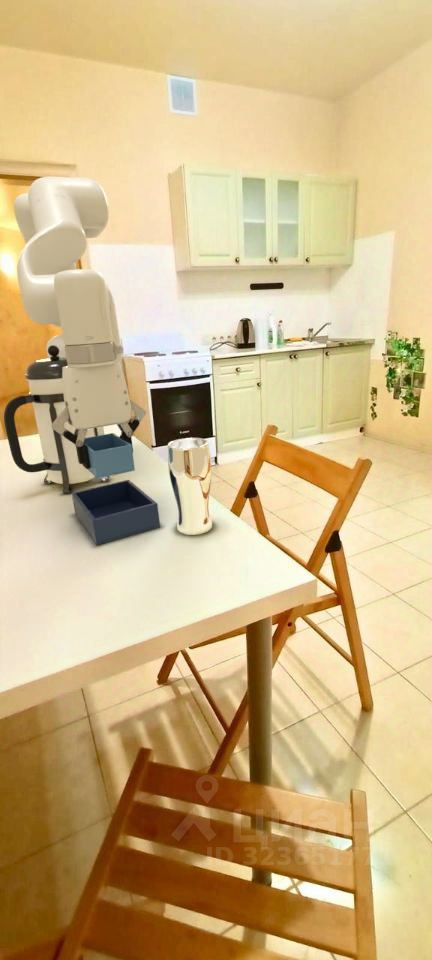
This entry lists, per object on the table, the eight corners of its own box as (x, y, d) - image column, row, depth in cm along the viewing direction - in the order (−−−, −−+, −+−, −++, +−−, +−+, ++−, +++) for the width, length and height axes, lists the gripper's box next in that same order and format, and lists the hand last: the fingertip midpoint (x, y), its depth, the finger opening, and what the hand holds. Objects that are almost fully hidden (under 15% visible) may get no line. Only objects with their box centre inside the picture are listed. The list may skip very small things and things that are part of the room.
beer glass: (168, 524, 78) (159, 442, 73) (204, 515, 81) (198, 435, 76) (184, 540, 73) (176, 452, 67) (222, 529, 76) (217, 444, 70)
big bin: (75, 514, 85) (71, 492, 83) (131, 500, 90) (128, 479, 88) (96, 545, 73) (92, 520, 71) (160, 527, 78) (157, 503, 76)
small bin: (81, 463, 81) (77, 439, 79) (116, 456, 83) (113, 432, 82) (96, 479, 72) (92, 452, 71) (134, 470, 75) (131, 444, 74)
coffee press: (56, 471, 110) (31, 344, 100) (119, 470, 108) (100, 340, 98) (19, 499, 94) (-15, 351, 83) (92, 498, 92) (66, 347, 81)
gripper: (134, 349, 78) (146, 448, 84) (29, 360, 70) (51, 467, 77) (150, 351, 72) (161, 457, 78) (37, 362, 64) (60, 479, 70)
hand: (107, 461), depth 77 cm, fingers closed on small bin, 6 cm apart
